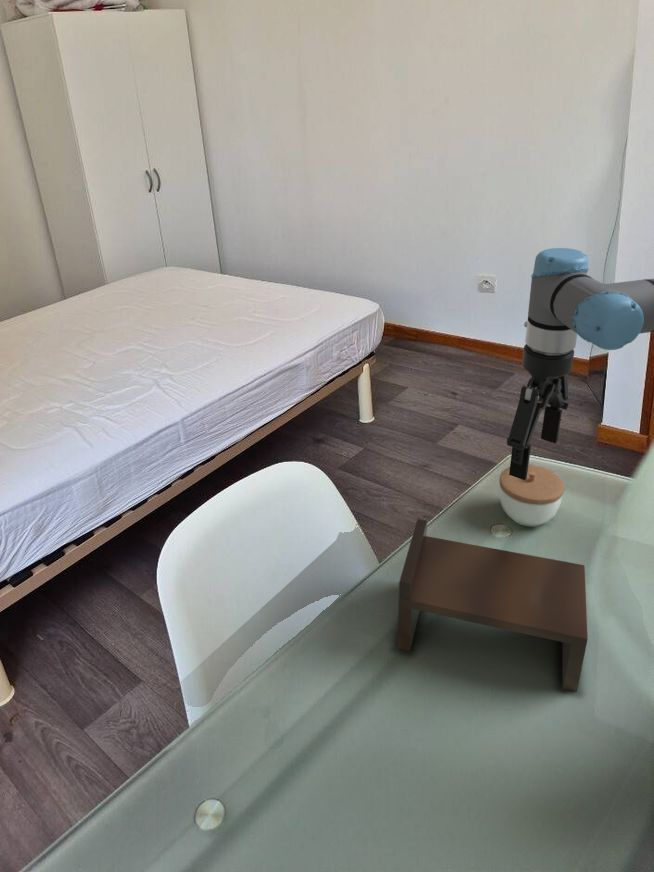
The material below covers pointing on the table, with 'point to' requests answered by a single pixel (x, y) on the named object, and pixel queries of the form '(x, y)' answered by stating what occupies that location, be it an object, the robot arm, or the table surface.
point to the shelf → (495, 594)
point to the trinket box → (531, 495)
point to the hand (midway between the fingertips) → (533, 457)
